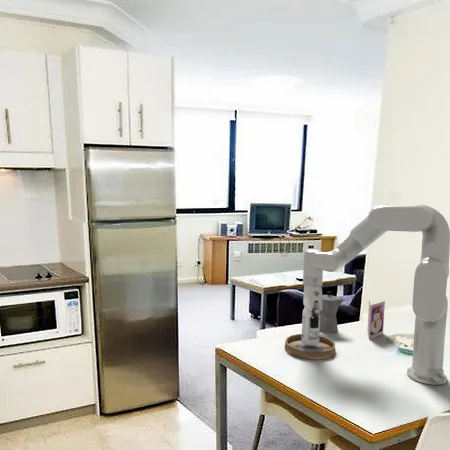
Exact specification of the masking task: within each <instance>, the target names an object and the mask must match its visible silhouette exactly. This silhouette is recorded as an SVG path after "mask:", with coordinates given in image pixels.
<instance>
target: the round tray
mask: <svg viewBox="0 0 450 450" xmlns="http://www.w3.org/2000/svg"><path fill="white" fill-rule="evenodd" d="M284 350H285V352H286V353H287V354H289V355H291V356H293V357H295V358H298V359H302V360H307V361H308V360H309V361H310V360H311V361H322V360H323V361H324V360H328V359H331V358H333V357H334V356H335V355H336V351H337V350H336V343H335V342H334V341H333V340H332V339H330V338H328V337H326V336H322V335H319V344H318V345H315V346H309V345H305V344H303V343H302V333H298V334H292V335H290V336H287V337H285V341H284Z"/></svg>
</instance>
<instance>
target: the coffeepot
mask: <svg viewBox="0 0 450 450" xmlns="http://www.w3.org/2000/svg"><path fill="white" fill-rule="evenodd" d="M331 293H332V291H330V290H329V291H327V294H322V311H320V332H321V333H325V334H334V333H337V332H338V331H339V330H338V321H337V313H338V309H339V307H340V305H341V304H342V303H343V302H345V300H344V299H343V298H340V297H338V296H335V295H332V294H331Z"/></svg>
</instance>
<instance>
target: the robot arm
mask: <svg viewBox="0 0 450 450" xmlns="http://www.w3.org/2000/svg"><path fill="white" fill-rule="evenodd" d="M388 231H389V232H408V233H409V232H411V233H415V232H421V235H422V241H421V254H420V262H419V263H418V264H417V266H416V268H415V271H414V276H413V279H414V280H413V291H412V305H411V306H412V311H413V313H414V314H415V319H414V330H413V331H414V332H413V333H414V334H413V346H412V347H413V348H412V349H413V351H412V363H411V366H409V367H408V368H407V369H406V374H407V376H408V377H409V378H411V379H412V380H414V381H416V382H418V383H422V384H425V385H432V386H438V385H439V386H441V385H444V384H446V383H447V382H448V376H447V375H446V374H445V373H444V371H445V369H443V367H444V354H445V342H446V330H447V329H446V328H447V316H448V308H449V301H448V300H449V299H448V297H447V289H448V288H447V284H448V279H449V275H450V226H449V223H448V221H447V219H446V218H445V216H444V215H443V213H441V212H439V211H438V210H437V209H435V208H433V207H431V206H429V205H424V204H418V205H389V204H379V205H377V206H374V207H373V208H372V209H371V210H370V211H369V212H368V215H367V216H366V217H365V218H363V220H362V221H360V222H359V223H358V224H356V225H355V226H354V227H353V228H352V229H351V230H350V232H349V235H348V236H347V237H346V239H344V240H343V242H342V243H340V244H339V245H337V247H335V248H334V249H331V250H330V251H326V252H324V251H323V250H321V249H314V248H312V249H311V248H310V249H306V250H304V253H303V271H302V273H303V274H302V276H303V278H302V285H304V286H303V297H302V298H303V300H302V301H303V303H302V304H303V306H304V307H305V306H307V307H308V309H309V310H310V311H311V318H310V328H318V326H319V315H321V311H322V295H323V289H322V286H323V276H324V274H323V273H324V272H328V273H330V272H331V273H332V272H336V271H337V270H339V269H341V268H344V266H346V265H347V264H349V263H350V262H351V261H352V260H353V259H355V258H356V257H357V256H358V255H360V253H361V252H363V251H364V250H367V248H368V247H369V246H371V245H372V244H374V242H376V240H378V239H379V238H380V237H382V235H385V233H387V232H388ZM312 309H315V310H312ZM313 312H315V313H314V315H313Z"/></svg>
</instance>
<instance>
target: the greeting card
mask: <svg viewBox="0 0 450 450" xmlns="http://www.w3.org/2000/svg"><path fill="white" fill-rule="evenodd" d="M385 305H386V301H385V300H384V301H380V302H377V303H373V304H371V302H370V299H369V300H368V310H367V311H368V313H367V329H366V330H367V335H368V337H367V338H368V339H369V340H370V339H374V338H375V337H378V336H381V335H383V334H384V326H385V325H384V324H385V323H384V322H385Z"/></svg>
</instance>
